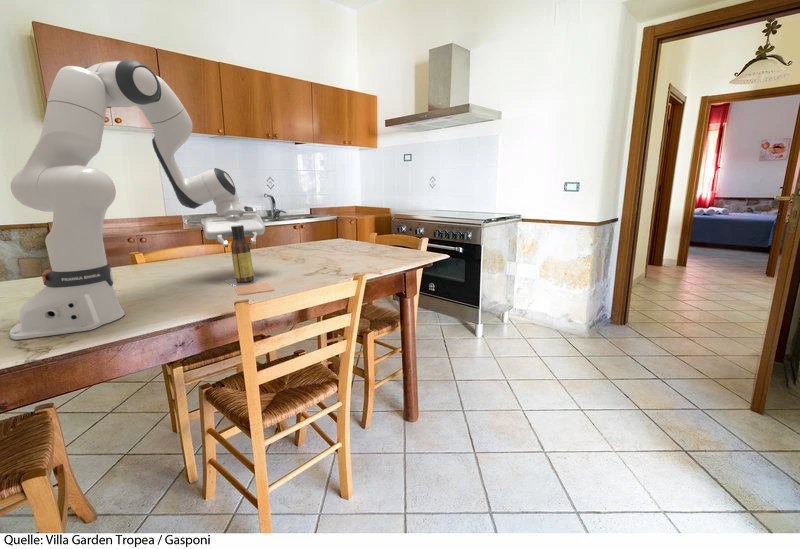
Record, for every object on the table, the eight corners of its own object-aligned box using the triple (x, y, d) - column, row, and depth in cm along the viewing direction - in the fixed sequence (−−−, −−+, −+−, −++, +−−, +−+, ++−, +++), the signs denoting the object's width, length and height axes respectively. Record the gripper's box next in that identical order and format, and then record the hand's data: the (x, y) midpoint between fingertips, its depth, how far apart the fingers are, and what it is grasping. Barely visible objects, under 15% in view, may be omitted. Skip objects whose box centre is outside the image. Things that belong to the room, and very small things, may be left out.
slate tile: (234, 289, 132) (233, 286, 132) (223, 283, 140) (223, 280, 140) (265, 284, 139) (265, 281, 139) (254, 278, 147) (253, 275, 147)
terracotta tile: (238, 297, 122) (237, 294, 122) (234, 288, 131) (234, 286, 131) (274, 292, 127) (274, 289, 127) (268, 284, 136) (268, 282, 136)
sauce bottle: (257, 278, 142) (251, 224, 138) (249, 283, 136) (243, 226, 132) (239, 278, 143) (234, 224, 138) (231, 283, 137) (224, 226, 132)
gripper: (199, 210, 134) (208, 242, 129) (259, 207, 146) (270, 236, 140) (199, 222, 139) (207, 253, 134) (257, 218, 150) (267, 247, 145)
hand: (240, 244), depth 137 cm, fingers open, 8 cm apart
